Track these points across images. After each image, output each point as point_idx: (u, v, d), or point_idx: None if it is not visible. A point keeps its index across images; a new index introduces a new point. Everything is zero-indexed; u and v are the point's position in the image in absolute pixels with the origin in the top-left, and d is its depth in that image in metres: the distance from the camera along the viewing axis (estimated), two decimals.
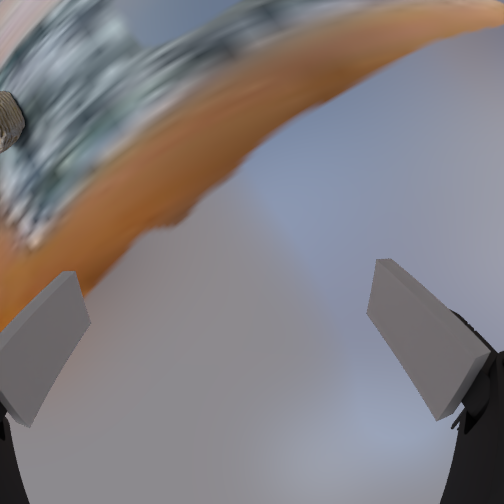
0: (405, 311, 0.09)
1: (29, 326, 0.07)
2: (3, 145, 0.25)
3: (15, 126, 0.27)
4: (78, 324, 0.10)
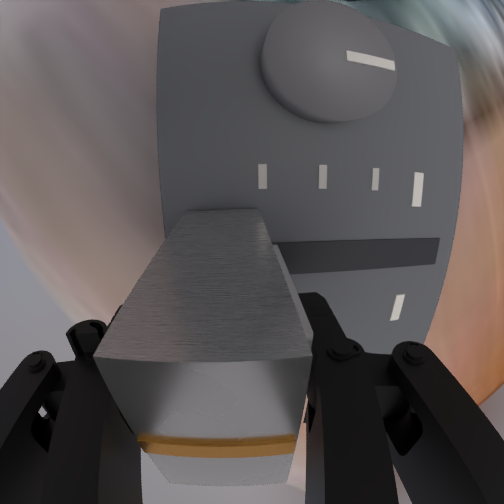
0: None
1: None
2: None
3: None
4: None
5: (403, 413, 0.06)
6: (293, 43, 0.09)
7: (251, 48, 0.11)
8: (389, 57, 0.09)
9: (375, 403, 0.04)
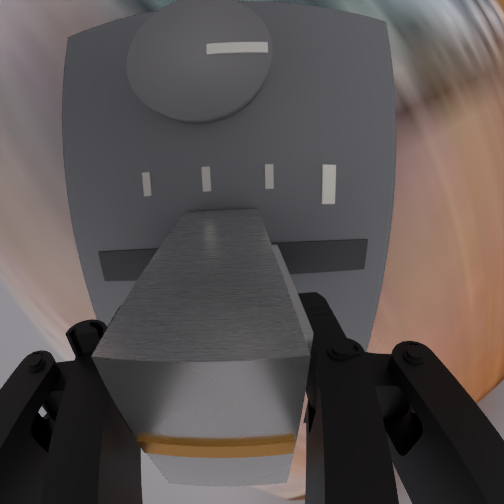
0: None
1: None
2: None
3: None
4: None
5: (403, 413, 0.06)
6: (152, 51, 0.08)
7: None
8: (262, 39, 0.09)
9: (375, 403, 0.04)
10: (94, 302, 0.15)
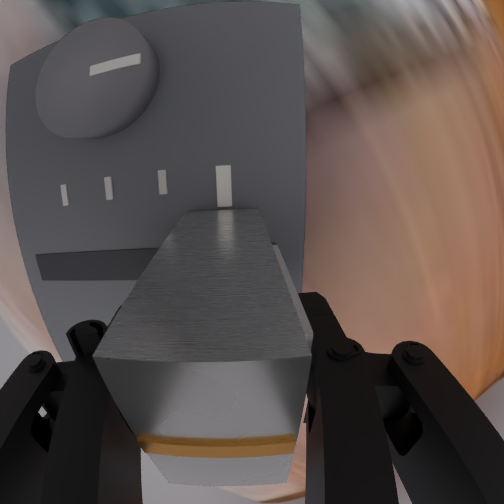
0: None
1: None
2: None
3: None
4: None
5: (403, 413, 0.06)
6: (53, 79, 0.08)
7: None
8: (137, 51, 0.08)
9: (375, 403, 0.04)
10: (37, 298, 0.15)
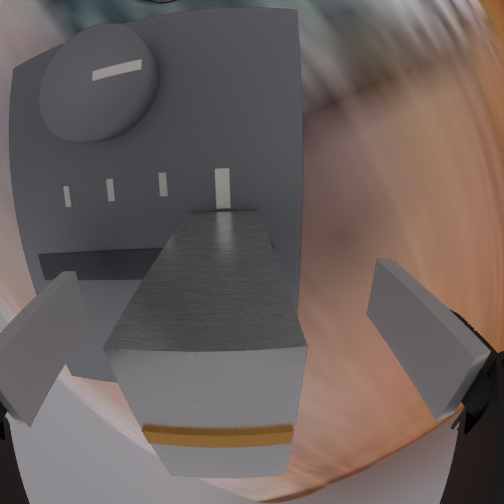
0: (405, 311, 0.09)
1: (29, 326, 0.07)
2: None
3: None
4: (78, 324, 0.10)
5: None
6: (56, 83, 0.09)
7: None
8: (138, 56, 0.09)
9: None
10: None
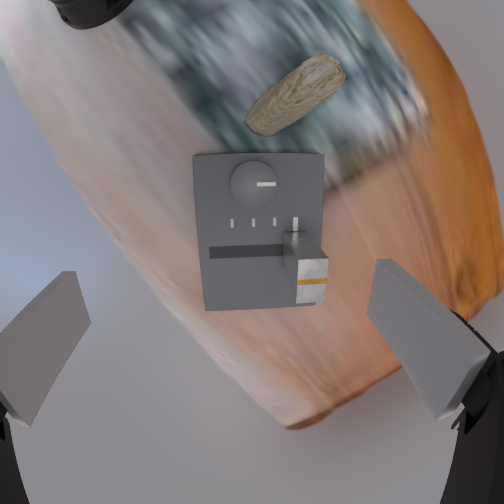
0: (405, 311, 0.09)
1: (29, 326, 0.07)
2: None
3: None
4: (78, 324, 0.10)
5: None
6: (239, 182, 0.35)
7: (227, 176, 0.37)
8: (274, 180, 0.35)
9: None
10: (202, 268, 0.41)
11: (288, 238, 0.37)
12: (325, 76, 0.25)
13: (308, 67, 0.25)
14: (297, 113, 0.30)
